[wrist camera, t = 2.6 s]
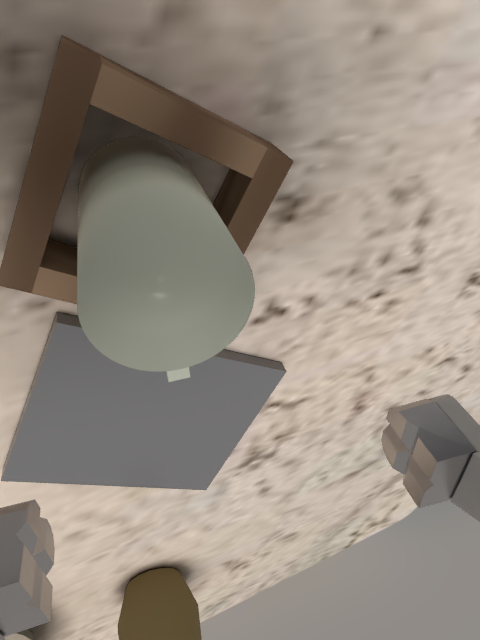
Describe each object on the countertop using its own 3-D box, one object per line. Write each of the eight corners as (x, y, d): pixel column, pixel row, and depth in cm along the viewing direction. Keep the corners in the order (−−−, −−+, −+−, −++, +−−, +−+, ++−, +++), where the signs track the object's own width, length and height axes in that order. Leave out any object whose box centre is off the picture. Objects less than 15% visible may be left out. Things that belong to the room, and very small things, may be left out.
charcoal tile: (2, 468, 31) (0, 480, 30) (56, 312, 25) (56, 322, 24) (203, 480, 39) (206, 490, 38) (281, 362, 33) (286, 371, 32)
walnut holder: (4, 254, 22) (-4, 284, 20) (62, 35, 18) (59, 42, 15) (190, 304, 27) (200, 333, 25) (272, 143, 23) (293, 161, 21)
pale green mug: (63, 144, 20) (52, 239, 12) (191, 130, 21) (253, 209, 14) (104, 297, 25) (114, 430, 18) (205, 278, 27) (256, 395, 19)
